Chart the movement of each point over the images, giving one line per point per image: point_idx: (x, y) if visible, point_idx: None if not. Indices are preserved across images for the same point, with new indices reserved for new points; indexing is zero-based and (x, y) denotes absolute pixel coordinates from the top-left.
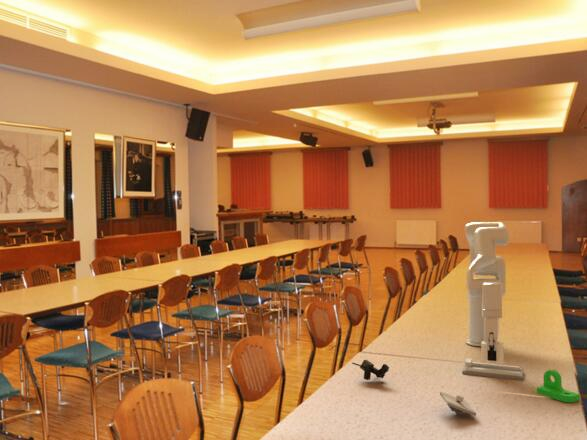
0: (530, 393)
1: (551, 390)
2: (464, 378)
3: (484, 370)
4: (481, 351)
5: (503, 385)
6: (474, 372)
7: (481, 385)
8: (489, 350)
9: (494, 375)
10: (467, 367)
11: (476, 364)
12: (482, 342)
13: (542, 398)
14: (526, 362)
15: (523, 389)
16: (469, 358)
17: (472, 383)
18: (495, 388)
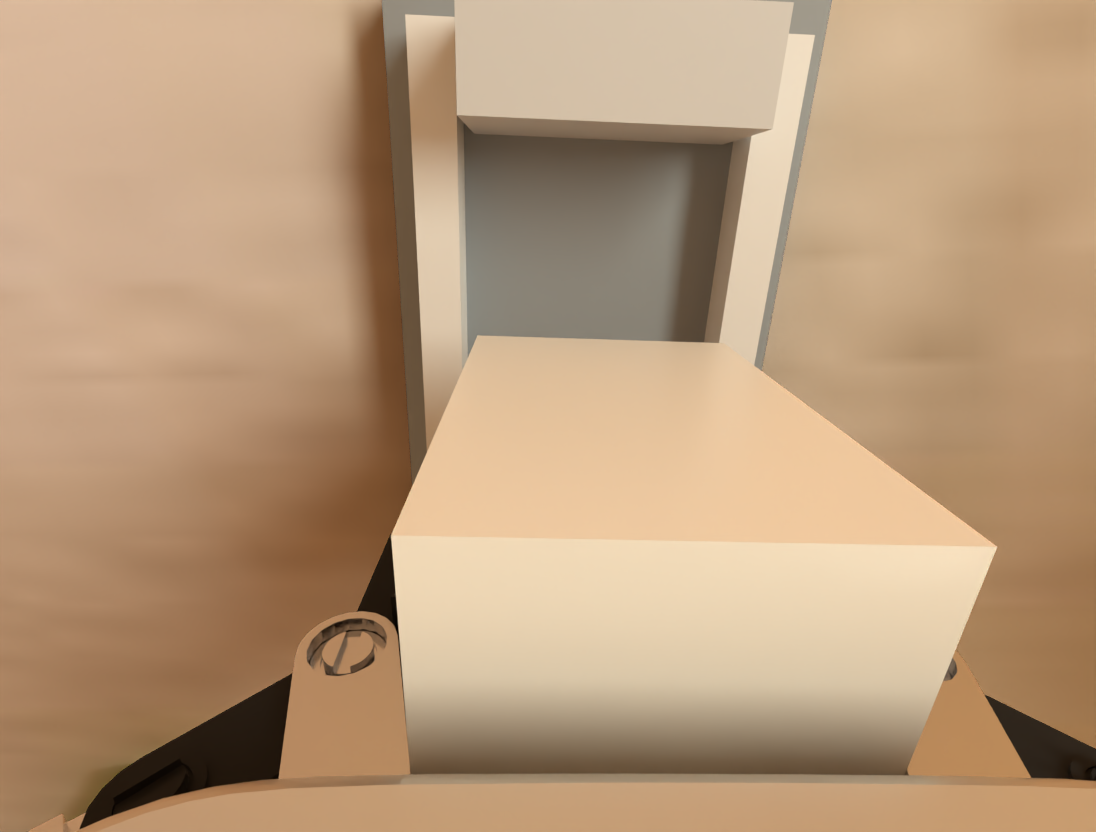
0: (77, 726)
1: None
2: (171, 49)
3: (424, 354)
4: (448, 410)
5: (167, 536)
6: (394, 201)
7: (7, 311)
8: (333, 648)
9: (415, 458)
10: (423, 63)
11: (730, 220)
12: (676, 576)
13: (10, 789)
14: (1047, 718)
15: (154, 685)
16: (775, 68)
17: (10, 189)
18: (8, 464)
